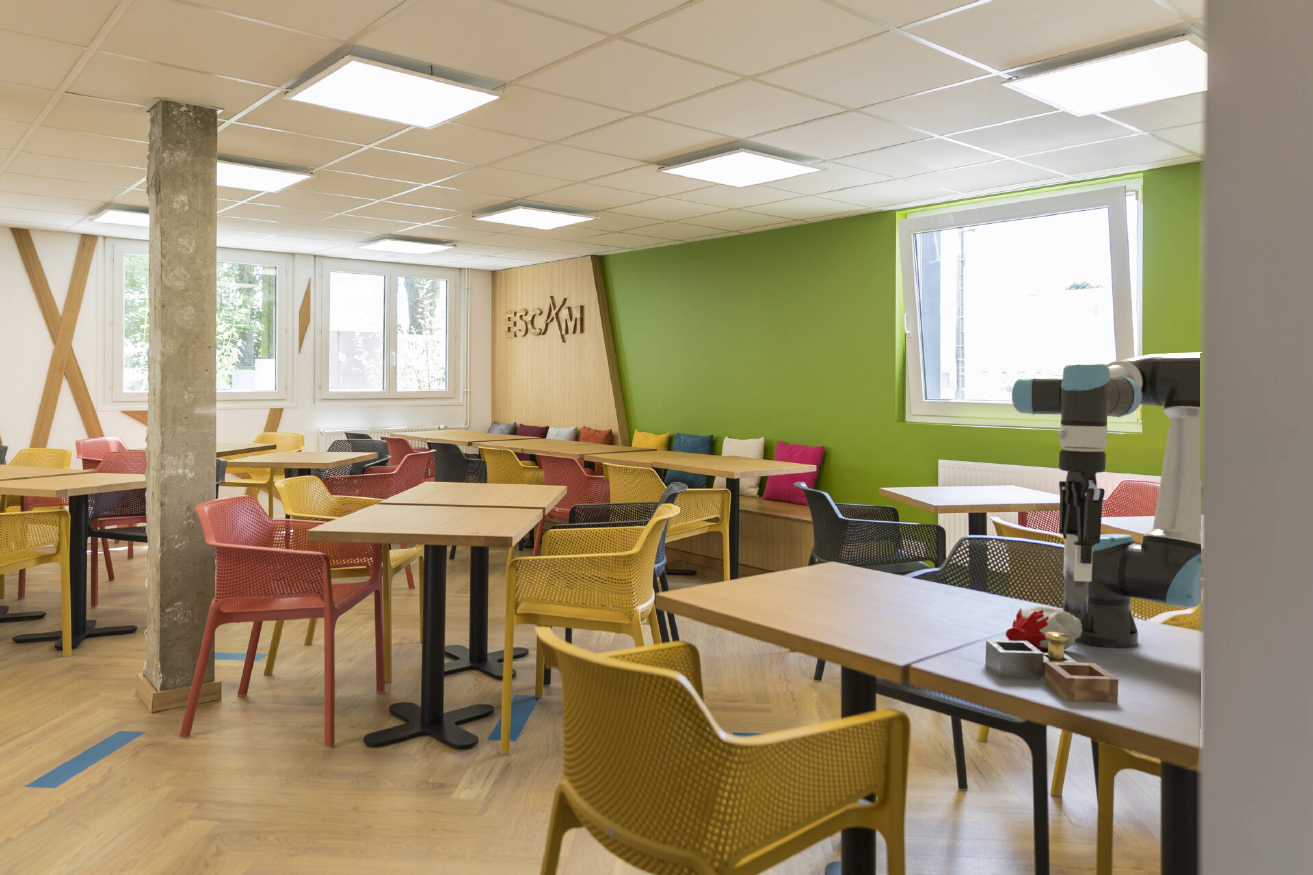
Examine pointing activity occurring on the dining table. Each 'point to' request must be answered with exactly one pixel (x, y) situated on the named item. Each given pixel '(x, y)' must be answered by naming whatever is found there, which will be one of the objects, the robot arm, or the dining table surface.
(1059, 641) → the gold bolt
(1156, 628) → the dining table surface
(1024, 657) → the socket
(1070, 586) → the silver metal cylinder
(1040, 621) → the white and red lump
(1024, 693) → the dining table surface
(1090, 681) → the wooden box
